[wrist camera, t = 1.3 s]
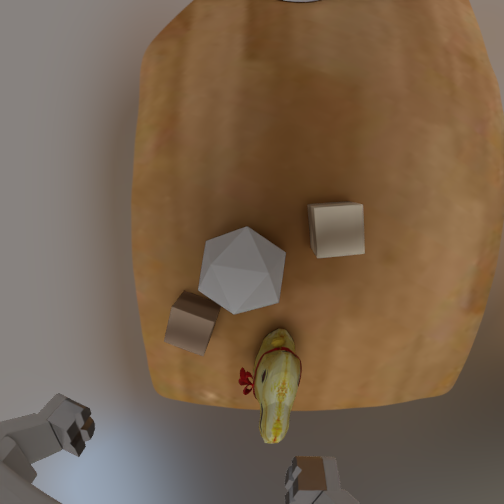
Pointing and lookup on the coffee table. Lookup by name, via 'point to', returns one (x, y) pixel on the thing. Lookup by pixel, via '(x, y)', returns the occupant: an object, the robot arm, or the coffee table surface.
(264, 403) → the chocolate bunny
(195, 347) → the walnut block
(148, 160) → the coffee table surface
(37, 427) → the robot arm
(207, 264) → the die
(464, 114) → the coffee table surface
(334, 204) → the beech block
